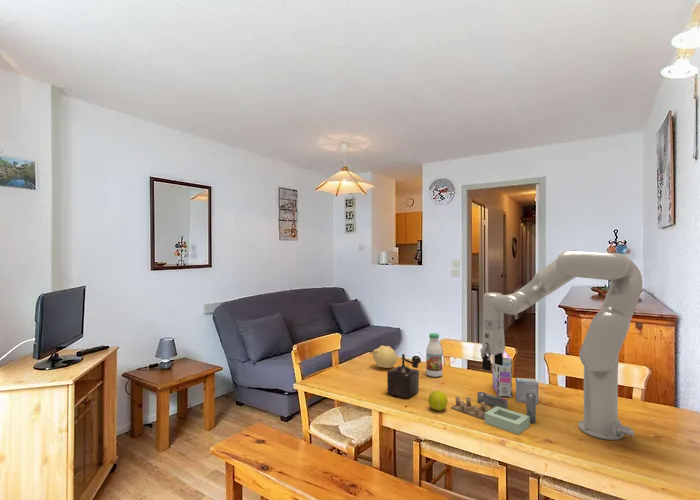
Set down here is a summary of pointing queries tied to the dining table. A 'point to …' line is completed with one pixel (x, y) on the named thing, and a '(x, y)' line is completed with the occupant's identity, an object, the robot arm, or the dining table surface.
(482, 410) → the peg rack
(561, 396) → the dining table surface
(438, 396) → the tennis ball
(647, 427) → the dining table surface
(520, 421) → the slot block
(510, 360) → the candy box
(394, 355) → the beige rounded lump
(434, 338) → the milk bottle
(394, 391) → the manual coffee grinder
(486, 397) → the spanner bar
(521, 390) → the medicine box
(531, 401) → the pin
